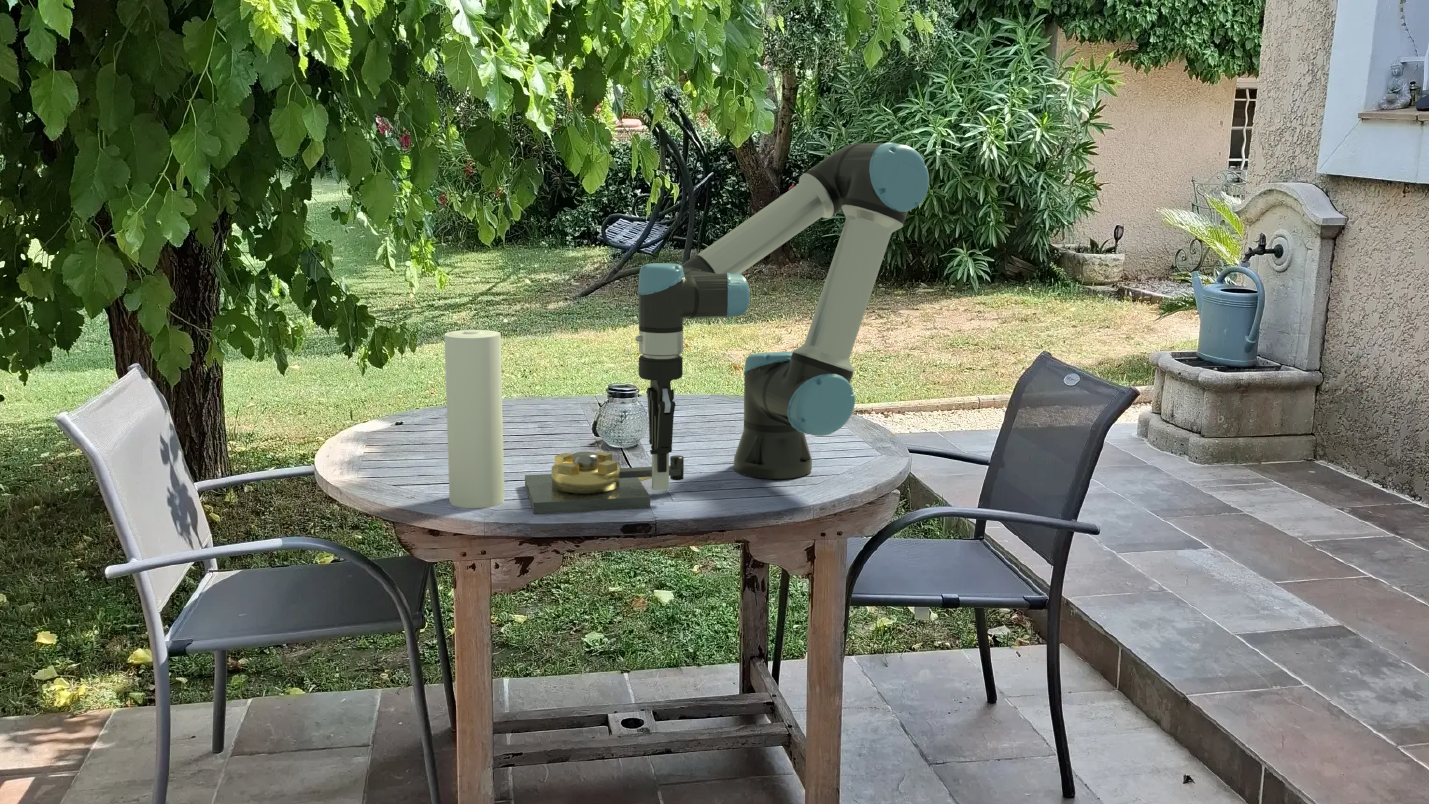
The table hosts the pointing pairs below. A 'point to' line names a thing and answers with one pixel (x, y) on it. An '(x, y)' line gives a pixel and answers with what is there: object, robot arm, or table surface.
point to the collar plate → (584, 496)
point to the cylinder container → (474, 418)
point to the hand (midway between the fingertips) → (660, 488)
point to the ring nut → (600, 472)
